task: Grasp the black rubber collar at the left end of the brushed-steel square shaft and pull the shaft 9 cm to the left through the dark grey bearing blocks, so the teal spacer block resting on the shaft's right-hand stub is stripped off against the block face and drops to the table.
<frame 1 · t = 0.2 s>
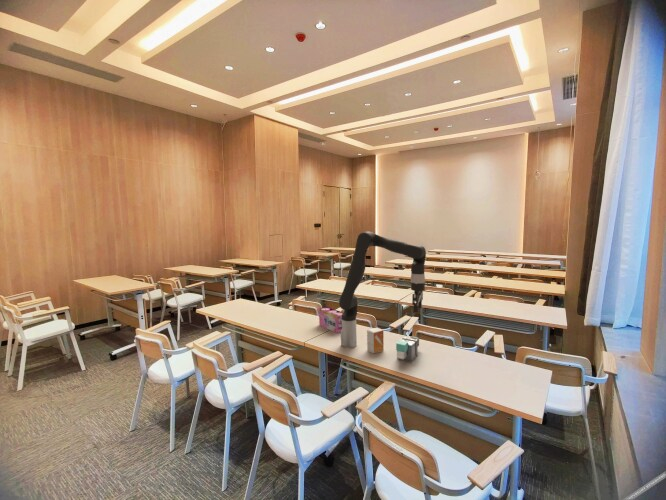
hand: (417, 310, 172), 29 cm above the table, fingers open, 8 cm apart
bearing blocks: (406, 358, 177), on the table
gum box: (331, 328, 232), on the table
shaft: (408, 347, 179), point 5 cm above the table, slide at 0.0 cm, touching spacer
spacer: (402, 349, 171), point 7 cm above the table, touching shaft
small box: (375, 350, 189), on the table
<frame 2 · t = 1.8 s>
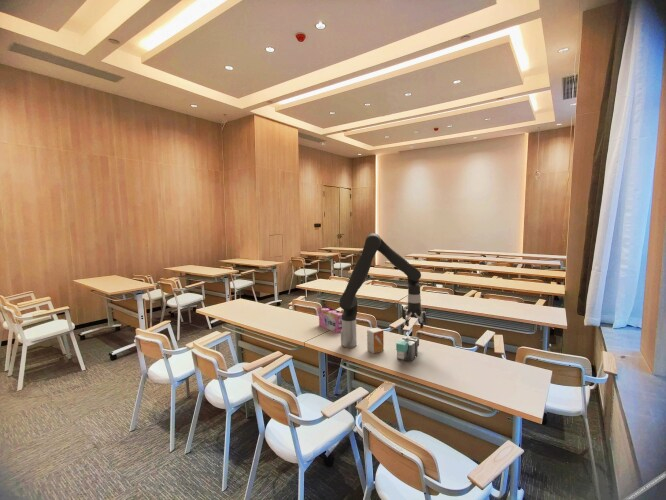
hand: (414, 327, 187), 14 cm above the table, fingers open, 8 cm apart
nothing on the table moved.
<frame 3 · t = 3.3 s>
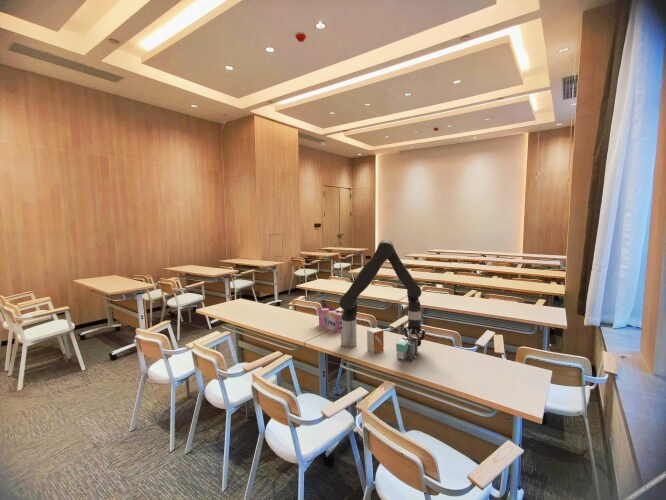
hand: (414, 344, 188), 3 cm above the table, fingers closed on shaft, 5 cm apart
shaft: (408, 347, 179), point 5 cm above the table, slide at 0.0 cm, touching gripper, spacer
everything else where it was.
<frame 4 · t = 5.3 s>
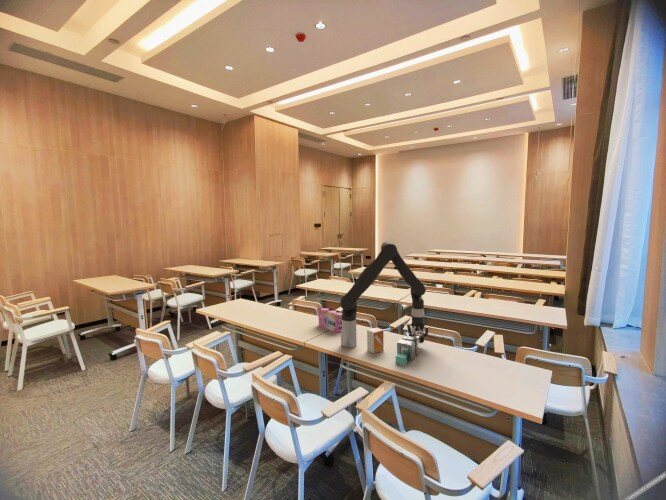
hand: (417, 341, 193), 3 cm above the table, fingers closed on shaft, 5 cm apart
shaft: (411, 343, 184), point 5 cm above the table, slide at 6.3 cm, touching gripper
spacer: (402, 358, 172), point 2 cm above the table, tilted 92°
everything else where it was.
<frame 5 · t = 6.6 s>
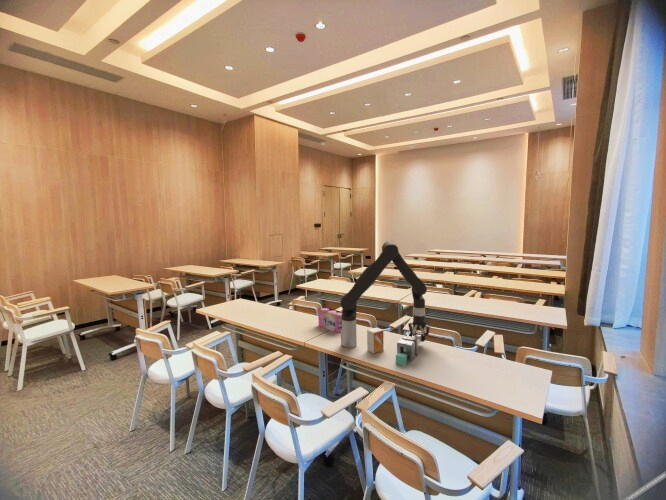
hand: (419, 340, 195), 3 cm above the table, fingers closed on shaft, 5 cm apart
shaft: (413, 342, 186), point 5 cm above the table, slide at 8.8 cm, touching gripper
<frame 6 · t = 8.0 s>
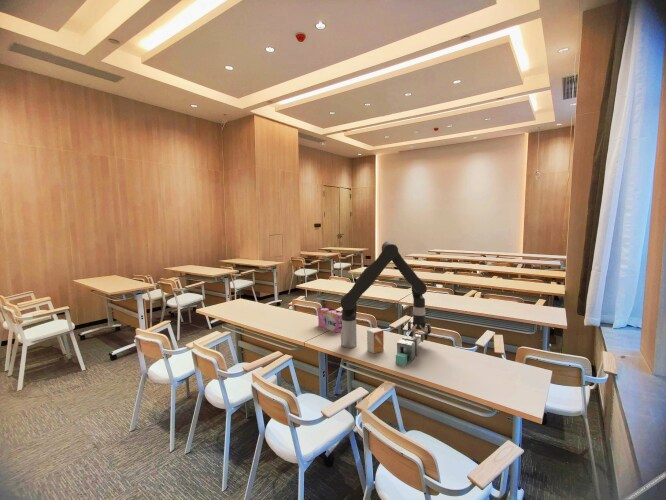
hand: (419, 338, 196), 4 cm above the table, fingers open, 8 cm apart
shaft: (413, 342, 186), point 5 cm above the table, slide at 8.8 cm
everything else where it was.
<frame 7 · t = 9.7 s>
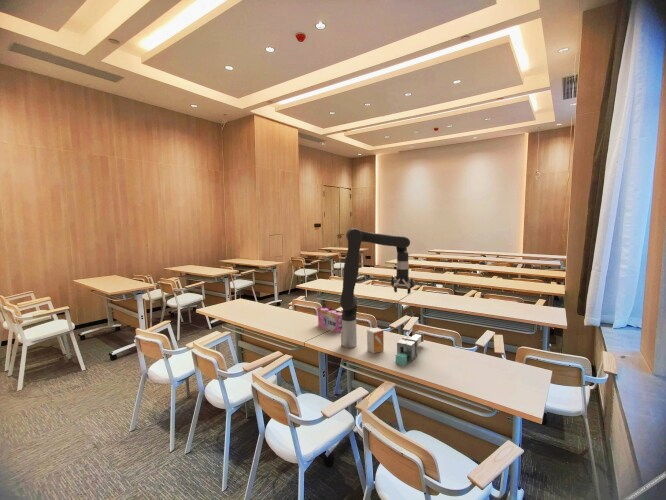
hand: (402, 293, 197), 33 cm above the table, fingers open, 8 cm apart
nothing on the table moved.
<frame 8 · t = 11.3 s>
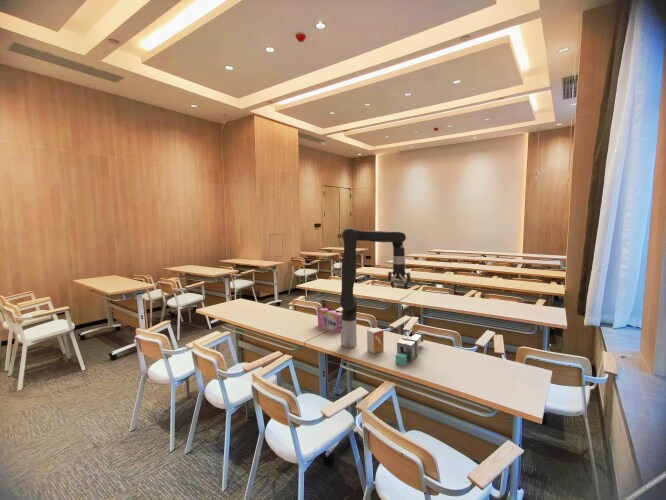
hand: (399, 288, 197), 36 cm above the table, fingers open, 8 cm apart
nothing on the table moved.
at the end: spacer point 2.4 cm above the table; shaft slide at 8.8 cm; the gripper is holding nothing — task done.
